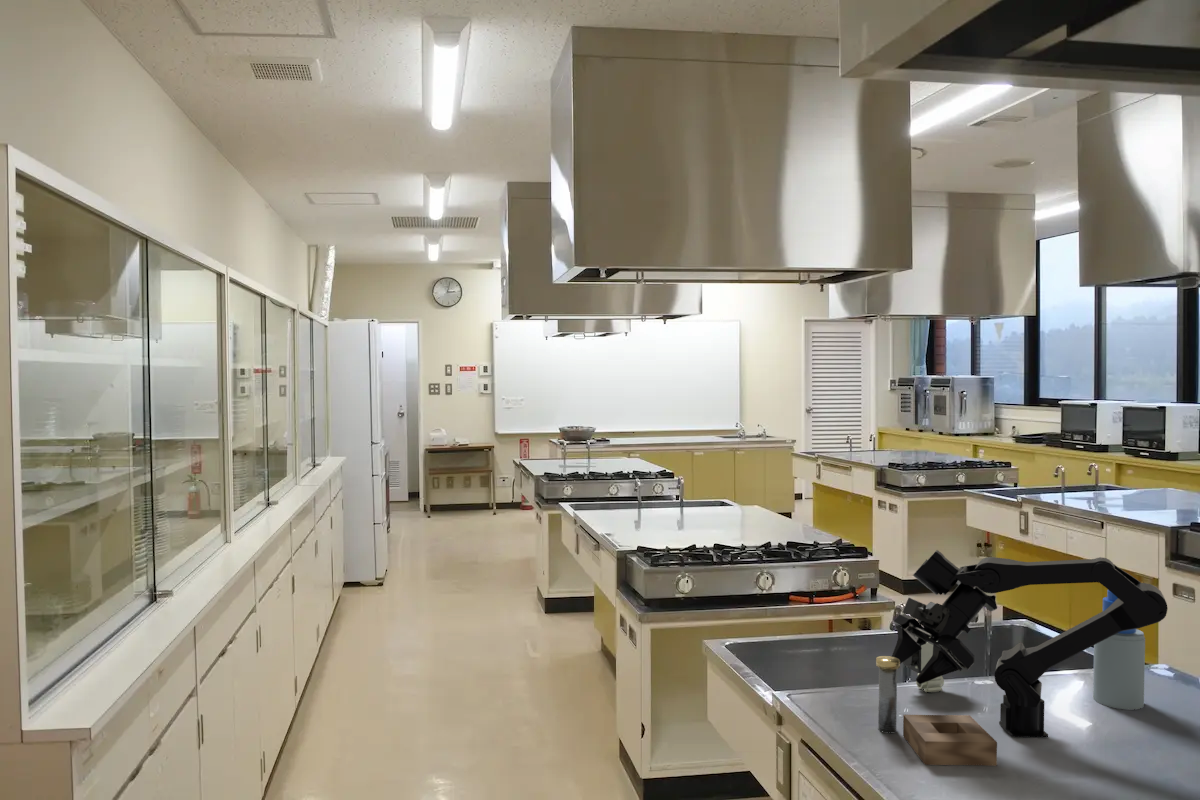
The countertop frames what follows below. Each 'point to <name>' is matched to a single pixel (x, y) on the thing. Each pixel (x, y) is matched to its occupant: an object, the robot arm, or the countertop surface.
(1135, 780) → the countertop surface
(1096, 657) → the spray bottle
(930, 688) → the pneumatic valve
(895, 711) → the steel pin
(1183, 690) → the countertop surface
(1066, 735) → the countertop surface
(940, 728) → the socket block
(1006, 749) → the countertop surface
